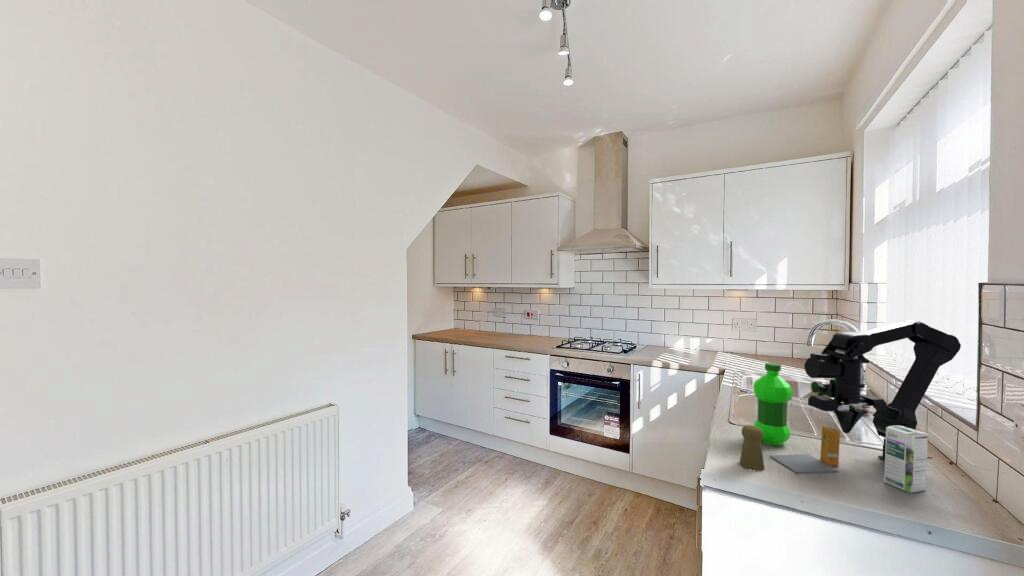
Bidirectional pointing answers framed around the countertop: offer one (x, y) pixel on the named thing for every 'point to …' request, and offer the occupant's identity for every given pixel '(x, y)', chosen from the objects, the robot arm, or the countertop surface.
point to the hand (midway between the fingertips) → (845, 432)
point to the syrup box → (906, 458)
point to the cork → (752, 448)
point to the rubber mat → (803, 463)
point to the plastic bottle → (772, 405)
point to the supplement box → (830, 445)
